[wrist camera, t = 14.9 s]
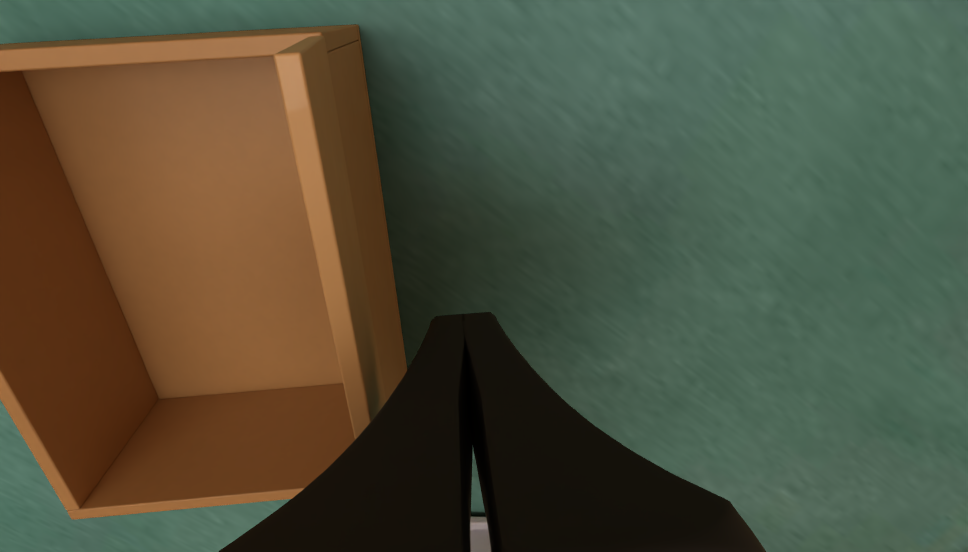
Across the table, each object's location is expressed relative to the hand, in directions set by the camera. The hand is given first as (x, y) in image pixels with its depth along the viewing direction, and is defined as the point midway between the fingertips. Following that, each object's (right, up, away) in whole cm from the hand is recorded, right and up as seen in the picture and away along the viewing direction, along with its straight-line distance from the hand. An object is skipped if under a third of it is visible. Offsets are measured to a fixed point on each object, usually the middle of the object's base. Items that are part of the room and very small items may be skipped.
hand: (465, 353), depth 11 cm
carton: (-8, +3, +6) cm, 10 cm away
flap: (-2, -1, -1) cm, 2 cm away
